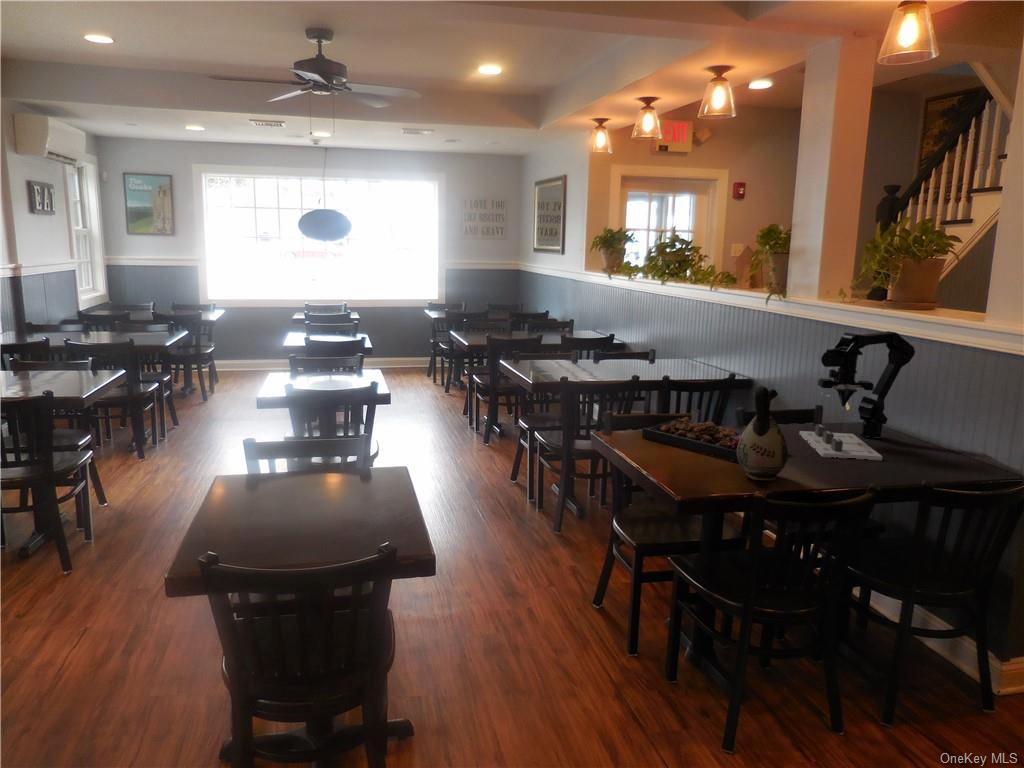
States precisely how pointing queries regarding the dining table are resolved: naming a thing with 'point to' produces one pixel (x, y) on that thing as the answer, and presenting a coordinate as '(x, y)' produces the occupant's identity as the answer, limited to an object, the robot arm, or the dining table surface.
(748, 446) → the ceramic jug
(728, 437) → the food platter
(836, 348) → the robot arm
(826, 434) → the block
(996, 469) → the dining table surface
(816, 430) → the block
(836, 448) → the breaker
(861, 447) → the switch panel
